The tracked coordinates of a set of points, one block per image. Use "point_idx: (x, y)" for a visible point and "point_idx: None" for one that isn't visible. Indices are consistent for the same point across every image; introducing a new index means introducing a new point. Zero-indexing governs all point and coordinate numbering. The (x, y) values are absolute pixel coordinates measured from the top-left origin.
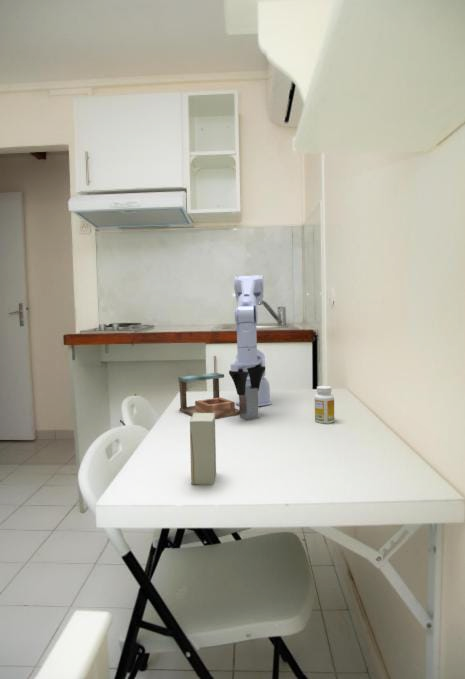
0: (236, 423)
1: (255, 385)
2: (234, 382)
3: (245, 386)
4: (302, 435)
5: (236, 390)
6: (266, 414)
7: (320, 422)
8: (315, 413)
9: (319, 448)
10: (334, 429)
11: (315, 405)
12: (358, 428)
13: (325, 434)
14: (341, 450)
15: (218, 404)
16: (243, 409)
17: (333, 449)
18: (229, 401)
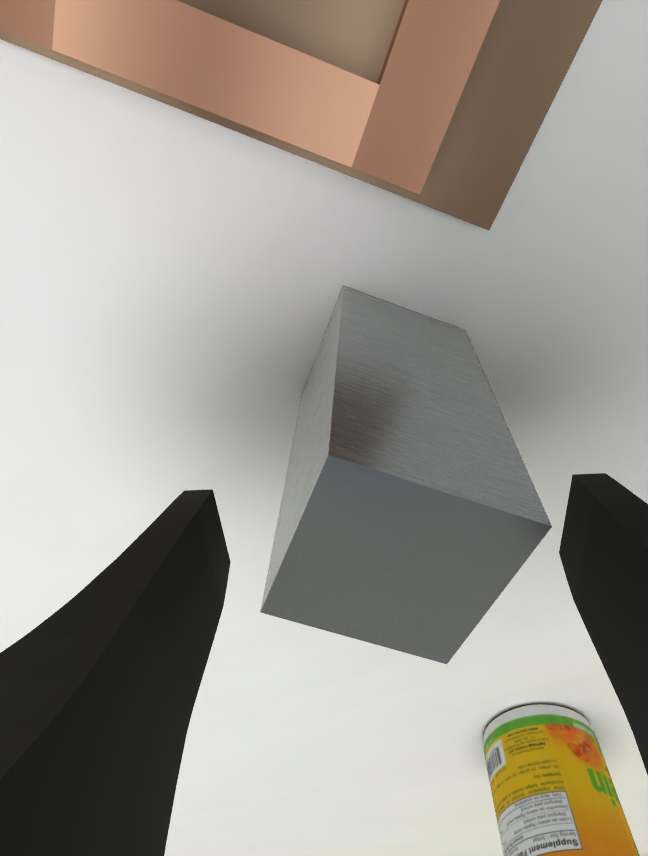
0: (174, 381)
1: (595, 589)
2: (50, 630)
3: (196, 683)
4: (237, 738)
5: (151, 525)
6: (567, 417)
7: (483, 736)
8: (509, 762)
9: None
10: (406, 787)
11: (522, 819)
12: (472, 831)
13: (312, 784)
14: (178, 844)
15: (156, 80)
16: (310, 394)
17: (168, 831)
18: (416, 86)
